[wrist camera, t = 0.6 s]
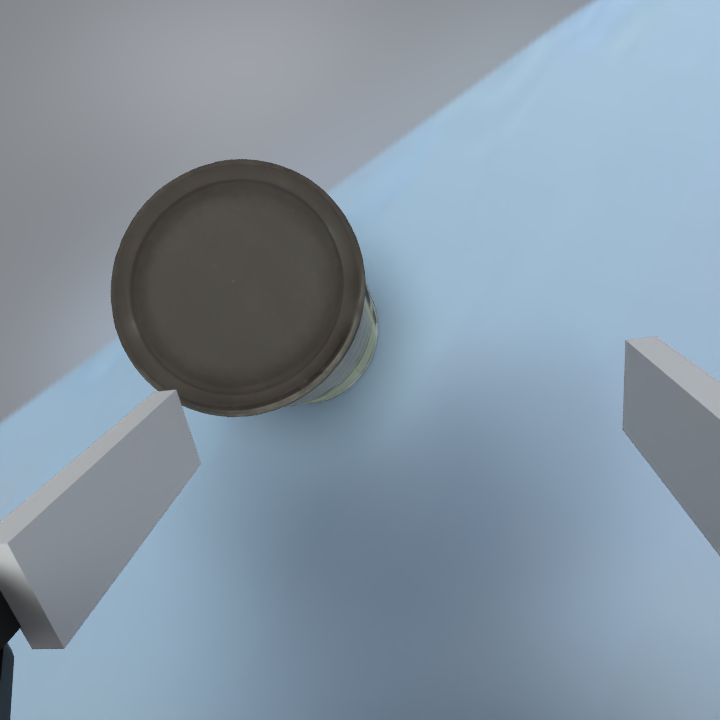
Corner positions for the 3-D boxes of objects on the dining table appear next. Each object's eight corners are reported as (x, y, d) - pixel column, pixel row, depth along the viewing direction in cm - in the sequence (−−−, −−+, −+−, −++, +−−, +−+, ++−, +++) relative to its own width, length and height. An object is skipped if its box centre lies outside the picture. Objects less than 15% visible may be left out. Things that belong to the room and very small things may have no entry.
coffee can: (205, 364, 33) (64, 344, 19) (273, 232, 33) (182, 117, 19) (336, 432, 32) (288, 464, 18) (405, 296, 32) (410, 223, 18)
